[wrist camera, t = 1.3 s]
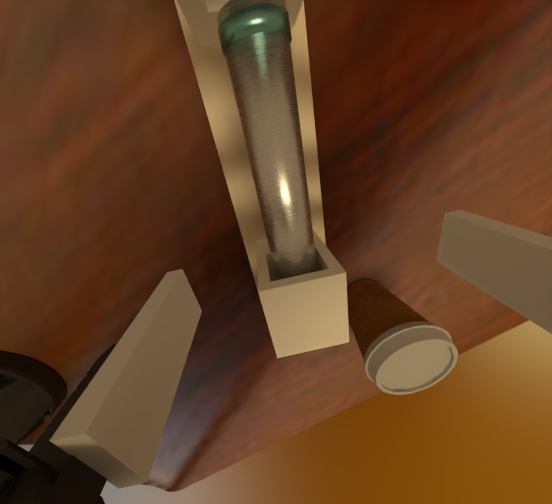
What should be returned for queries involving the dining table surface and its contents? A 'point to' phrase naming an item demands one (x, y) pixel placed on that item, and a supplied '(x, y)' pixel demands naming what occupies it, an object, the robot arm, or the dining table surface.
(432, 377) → the disposable coffee cup
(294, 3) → the socket
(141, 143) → the dining table surface
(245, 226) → the board
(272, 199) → the tube
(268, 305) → the sleeve
